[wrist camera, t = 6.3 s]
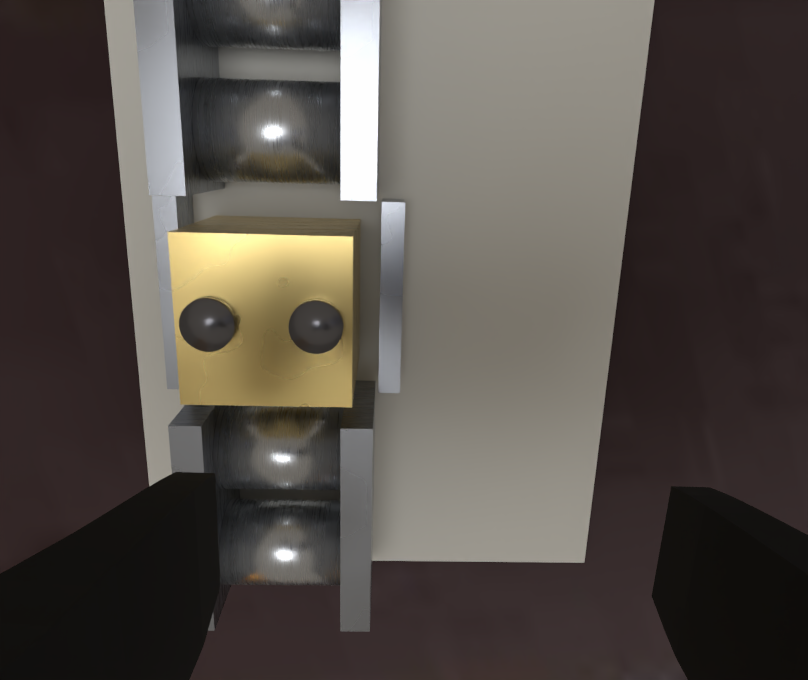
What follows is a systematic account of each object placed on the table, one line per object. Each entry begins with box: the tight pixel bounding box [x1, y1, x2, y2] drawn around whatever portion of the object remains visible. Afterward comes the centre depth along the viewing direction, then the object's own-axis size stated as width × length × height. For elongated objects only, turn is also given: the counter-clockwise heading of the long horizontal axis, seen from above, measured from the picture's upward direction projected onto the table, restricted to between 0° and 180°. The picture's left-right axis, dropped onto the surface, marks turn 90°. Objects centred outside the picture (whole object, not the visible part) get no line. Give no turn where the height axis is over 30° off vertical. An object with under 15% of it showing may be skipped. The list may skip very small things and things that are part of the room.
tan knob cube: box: [167, 215, 361, 407], centre depth 16 cm, size 4×4×4 cm
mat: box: [104, 0, 654, 563], centre depth 18 cm, size 14×18×1 cm
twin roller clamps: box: [133, 0, 405, 631], centre depth 16 cm, size 6×18×4 cm, turn 178°
